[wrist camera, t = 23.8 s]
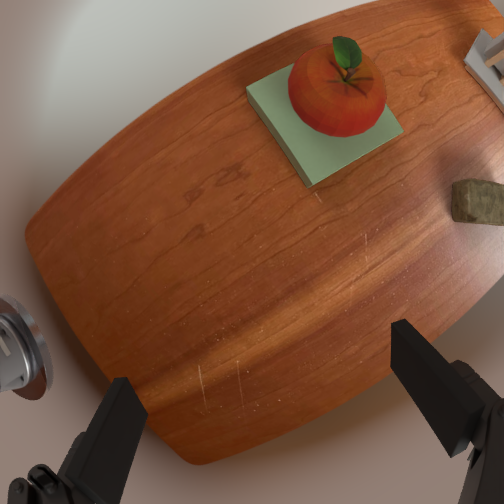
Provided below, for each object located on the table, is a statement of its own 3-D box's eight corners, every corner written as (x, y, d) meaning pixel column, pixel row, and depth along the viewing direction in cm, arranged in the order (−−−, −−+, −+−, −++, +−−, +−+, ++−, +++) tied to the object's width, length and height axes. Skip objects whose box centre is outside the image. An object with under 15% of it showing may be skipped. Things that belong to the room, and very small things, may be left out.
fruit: (293, 151, 29) (306, 120, 19) (278, 72, 28) (282, 20, 18) (378, 144, 28) (421, 117, 18) (359, 69, 27) (388, 23, 17)
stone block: (447, 180, 32) (468, 176, 27) (499, 187, 31) (520, 185, 26) (448, 223, 33) (470, 224, 28) (500, 225, 32) (521, 227, 27)
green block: (307, 188, 33) (312, 185, 29) (247, 100, 32) (245, 87, 28) (391, 139, 32) (404, 131, 28) (332, 58, 31) (339, 43, 27)
